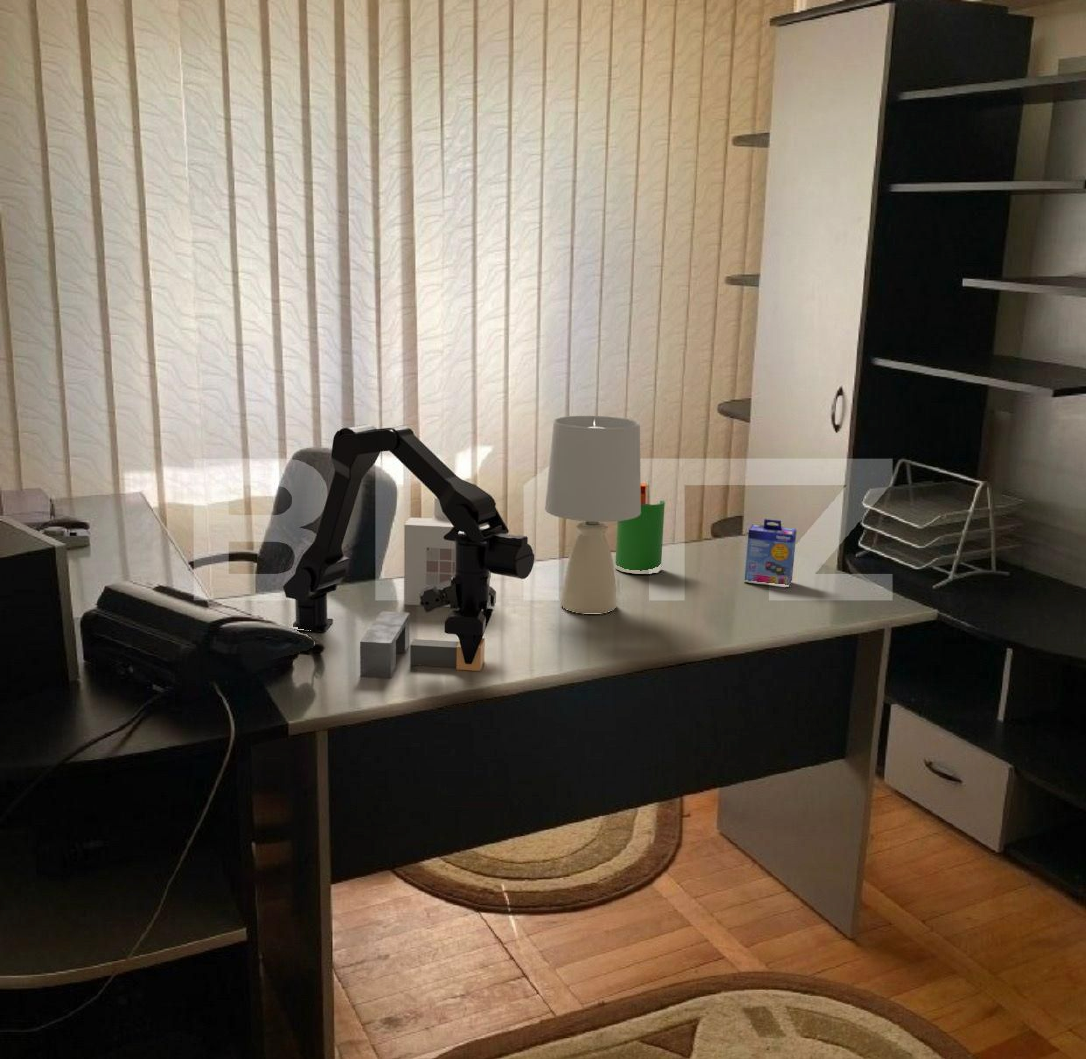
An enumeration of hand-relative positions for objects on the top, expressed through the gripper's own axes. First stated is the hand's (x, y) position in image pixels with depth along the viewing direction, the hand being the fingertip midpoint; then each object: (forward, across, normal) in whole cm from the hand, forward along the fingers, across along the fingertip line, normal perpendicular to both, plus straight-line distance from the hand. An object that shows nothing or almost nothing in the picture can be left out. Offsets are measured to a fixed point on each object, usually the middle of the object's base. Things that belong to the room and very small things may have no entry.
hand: (470, 658), depth 189 cm
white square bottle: (+1, -40, -10) cm, 41 cm away
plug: (+1, 0, -4) cm, 4 cm away
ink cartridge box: (+2, -60, +56) cm, 83 cm away
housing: (+1, 0, -14) cm, 15 cm away
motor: (+2, -65, +28) cm, 71 cm away
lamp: (+2, -36, +18) cm, 41 cm away
